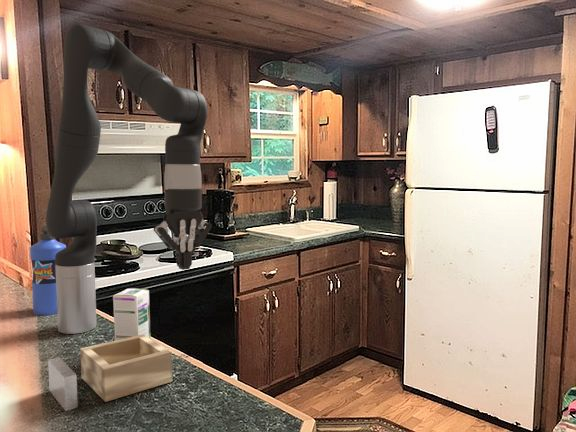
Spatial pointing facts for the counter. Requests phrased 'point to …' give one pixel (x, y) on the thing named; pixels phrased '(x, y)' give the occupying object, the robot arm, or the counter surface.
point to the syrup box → (131, 313)
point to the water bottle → (44, 273)
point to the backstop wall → (63, 383)
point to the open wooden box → (125, 366)
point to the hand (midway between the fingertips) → (184, 268)
